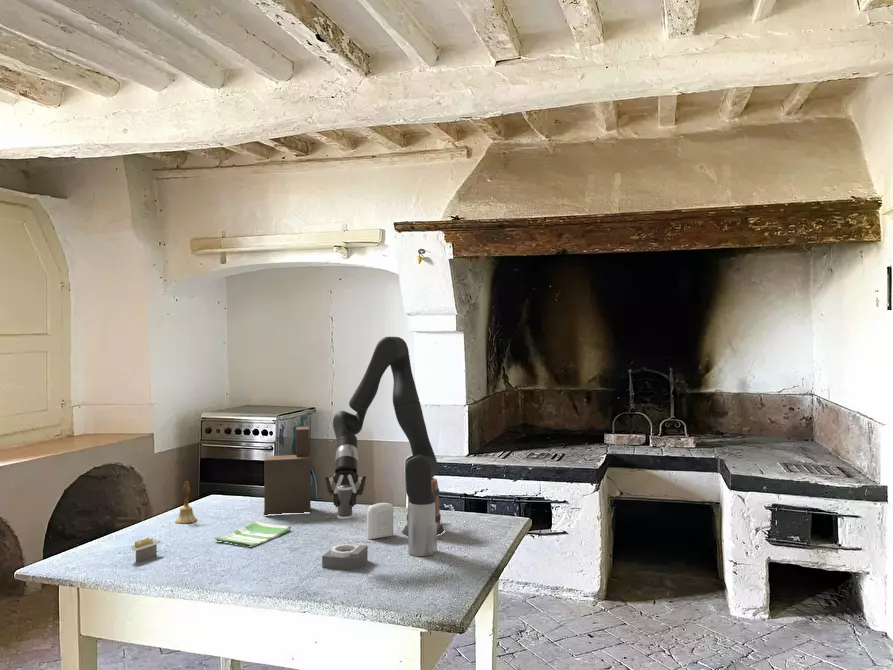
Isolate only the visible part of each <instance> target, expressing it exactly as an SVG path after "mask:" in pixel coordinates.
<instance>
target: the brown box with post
mask: <svg viewBox="0 0 893 670" xmlns="http://www.w3.org/2000/svg"><path fill="white" fill-rule="evenodd" d="M295 431H296V432H295V433H296V435H295V441H296V442H295V443H296V444H295V447H296V448H295V449H296V454H291V455H290V454H286V455H285V454H284V455H266V456H265V457H264V462H263V463H264V465H263V466H264V468H263V471H264V473H263V476H264V481H263V482H264V489H263V490H264V491H263V495H264V501H263V503H264V504H263V505H264V506H263V507H264V508H263V509H264V511H263V516H264V515H268V514H282V513H304V512H311V513H312V506H311V505H312V504H311V454H310V427H309V426H296V430H295Z"/></svg>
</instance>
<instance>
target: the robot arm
mask: <svg viewBox="0 0 893 670" xmlns="http://www.w3.org/2000/svg"><path fill="white" fill-rule="evenodd" d="M389 367H390V368H391V369H390V370H391V372H392V373H391V374H392V378H393V387H392V404H393V405H392V406H393V410H394V414H395V418H396V420H397V424H398V425H399V427H400V428H401V430H402V432H403V433H404V435H405V436H406V439H407V440H408V442H409V445H410V449H411V454H412V457H410V458H409V460H408V461H407V463H406V465H405V492H406V496H407V500H408V501H407V514H408V537H407V538H408V540H407V541H408V543H407V548H408V550H407V551H408V554H410V555H412V556H415V557H416V556H417V557H428V556H431V555H432V556H434V554H435V553H436V552H437V550H438V537H437V523H436V522H435V494H434V492H432V489H431V478H434V477H435V476H436V474H437V473H438V469H439V464H438V460H437V457H436V454H435V451H434V450H433V447H432V443H431V440H430V438H429V436H428V435H429V434H428V430H427V426H426V422H425V418H424V417H425V416H424V414H423V409H422V405H421V402H420V398H419V394H418V391H417V387H416V383H415V382H416V381H415V378H414V375H413V371H412V365H411V360H410V351H409V346H408V344H407V342H406V341H405V340H404V339H403V338H402V337H400V336H385V337H382V338H380V339H379V341H378V342H377V344H376V345H375V348H374V351H373V353H372V355H371V359H370V362H369V364H368V366H367V368H366V371H365V373H364V375H363V377H362V379H361V381H360V382H359V384H358V385H357V388H356V389H355V391H354V393H353V395H352V396H351V398H350V400H349V402H348V406H349V408H350V409H352V410H353V411H354V412H356V414H354V413H351V412H348V411H344V410H339V411H338V412H336V413H335V415H334V417H333V420H332V428H333V432H334V435H335V439H336V452H335V460H334V474H333V476H331V477H329V476H326V477H325V478H324V481H325V486H326V491H327V494H328V496H329V497H333V502H332V503H333V506H335V508H338V485H343V484H349V485H352V508H353V507H355V506H356V504H357V496H362V495H363V492H364V491H365V490H364V489H365V487H366V483H367V476H359V474H358V464H359V463H358V462H359V459H358V456H359V455H358V437H357V435H358V434H359V433H360V432H361V431H362V429H363V426H364V421H365V417H366V415H367V412H368V409H369V408H370V406H371V404H372V402H373V401H374V399H375V397H376V396H377V393H378V390H379V387H380V382H381V381H382V380H381V379H382V378H383V375H384V373H385V372H386V371H387V369H388V368H389ZM333 482H334V484H336V485H335V488H334V490H333V489H332V485H333ZM357 482H359V485H358V489H356V486H355V485H356V483H357Z"/></svg>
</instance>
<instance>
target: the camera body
mask: <svg viewBox="0 0 893 670" xmlns="http://www.w3.org/2000/svg"><path fill="white" fill-rule="evenodd" d="M368 548H369V547H368V545H362V544H360V545H356V544H349V543H345V544H338V545H334V546H332V547H331V548H330V549H329V551H327V552H326V553H325V554H323V555H322V556H321V567H322V568H327V567H329V569H340V570H352V571H353V570H355V571H358V570H360V568H361V567H362V566H364V564H366V563H367V562H368Z"/></svg>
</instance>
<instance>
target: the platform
mask: <svg viewBox="0 0 893 670" xmlns="http://www.w3.org/2000/svg"><path fill="white" fill-rule="evenodd" d="M161 542H162V541H161V540H154V539H153V537H152V538H148V537H146V538H143V539H140V540H139V539H138V540H137V541H134V545H132V546H130V549H131V550H132V551H134V552H135V563H137V562H140V561H143V560H147V559H150V558H152V557H153V558H154V557H156V556H157V552H158V551H157V550H158V549H157V548H158V547H157V546H158V545H159V544H161Z"/></svg>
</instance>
